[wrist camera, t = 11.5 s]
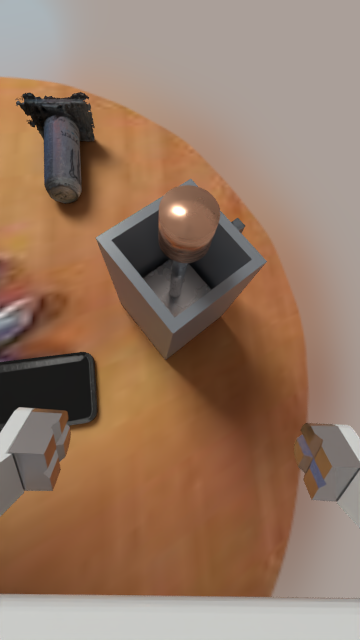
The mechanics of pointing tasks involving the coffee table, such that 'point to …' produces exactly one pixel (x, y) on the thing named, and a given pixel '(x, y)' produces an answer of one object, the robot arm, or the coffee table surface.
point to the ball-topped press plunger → (183, 245)
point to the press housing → (146, 255)
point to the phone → (50, 386)
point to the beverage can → (61, 140)
